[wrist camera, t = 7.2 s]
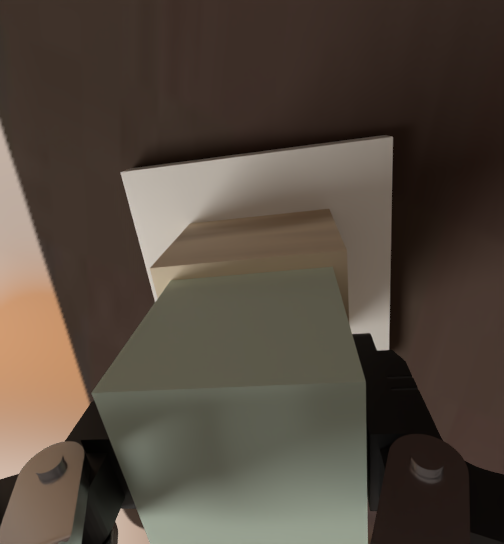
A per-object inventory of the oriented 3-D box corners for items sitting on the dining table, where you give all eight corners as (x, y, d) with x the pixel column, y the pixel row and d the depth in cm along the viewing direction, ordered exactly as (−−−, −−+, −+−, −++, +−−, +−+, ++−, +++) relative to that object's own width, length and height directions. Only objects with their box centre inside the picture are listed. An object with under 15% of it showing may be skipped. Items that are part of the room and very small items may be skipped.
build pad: (131, 168, 16) (120, 172, 15) (385, 134, 15) (392, 136, 14) (182, 366, 21) (176, 380, 19) (383, 356, 19) (388, 371, 18)
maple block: (189, 223, 16) (149, 268, 11) (329, 208, 15) (347, 250, 10) (213, 338, 18) (188, 414, 14) (335, 331, 17) (352, 409, 13)
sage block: (170, 280, 11) (91, 392, 7) (332, 266, 11) (365, 381, 6) (200, 403, 13) (154, 554, 9) (339, 398, 13) (368, 560, 8)
